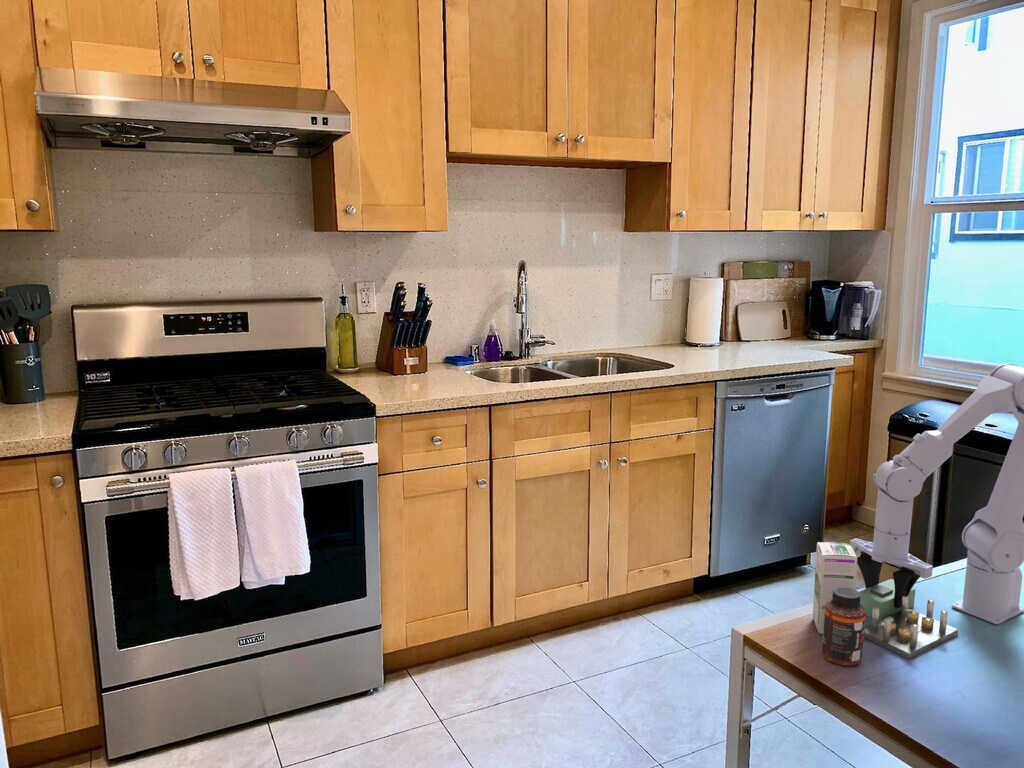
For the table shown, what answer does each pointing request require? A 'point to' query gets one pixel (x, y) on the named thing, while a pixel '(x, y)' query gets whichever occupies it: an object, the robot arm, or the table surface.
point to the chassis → (909, 630)
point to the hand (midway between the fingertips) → (885, 600)
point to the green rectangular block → (882, 599)
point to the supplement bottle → (844, 627)
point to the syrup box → (831, 575)
